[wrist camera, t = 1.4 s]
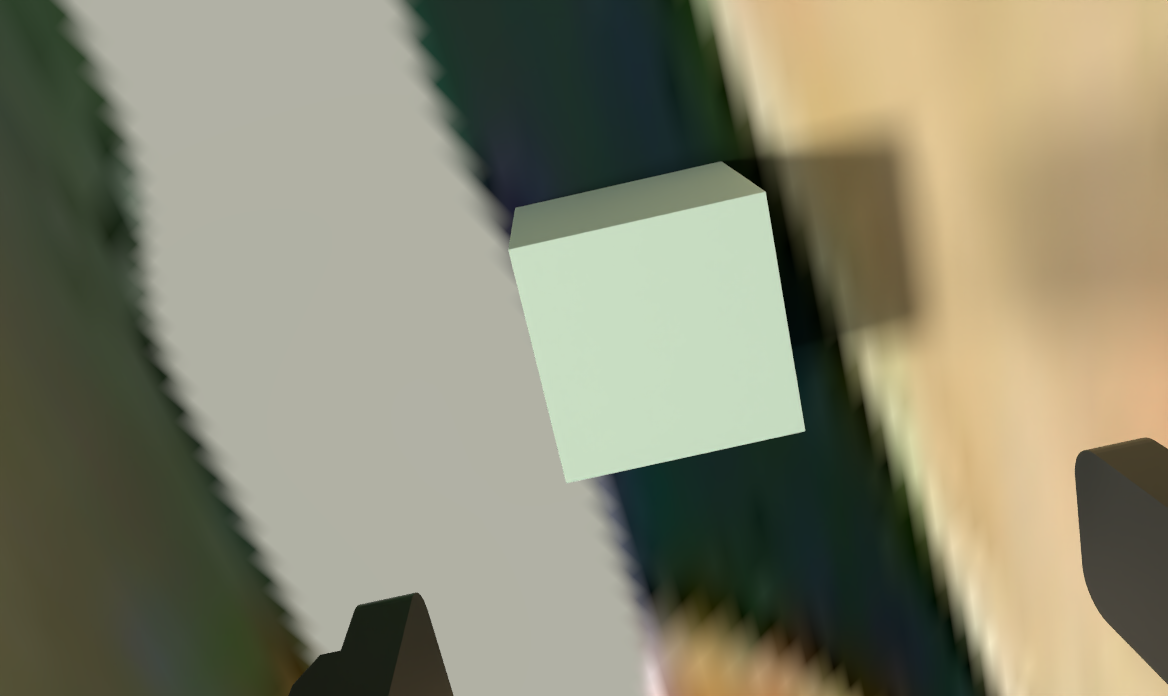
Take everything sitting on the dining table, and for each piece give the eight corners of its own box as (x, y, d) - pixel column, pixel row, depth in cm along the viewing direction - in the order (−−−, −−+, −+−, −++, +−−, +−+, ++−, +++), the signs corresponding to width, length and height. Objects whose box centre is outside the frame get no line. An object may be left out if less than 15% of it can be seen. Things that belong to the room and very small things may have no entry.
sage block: (515, 207, 26) (508, 250, 21) (720, 160, 26) (765, 191, 21) (562, 399, 28) (566, 483, 23) (755, 356, 28) (804, 430, 22)
